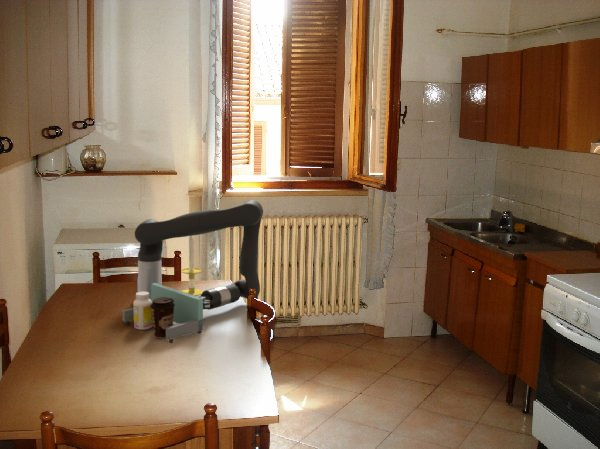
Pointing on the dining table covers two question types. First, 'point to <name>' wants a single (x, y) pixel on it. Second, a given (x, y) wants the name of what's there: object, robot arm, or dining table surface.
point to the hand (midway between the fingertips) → (180, 307)
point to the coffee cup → (162, 315)
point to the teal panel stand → (176, 311)
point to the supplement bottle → (142, 311)
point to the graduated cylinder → (192, 271)
